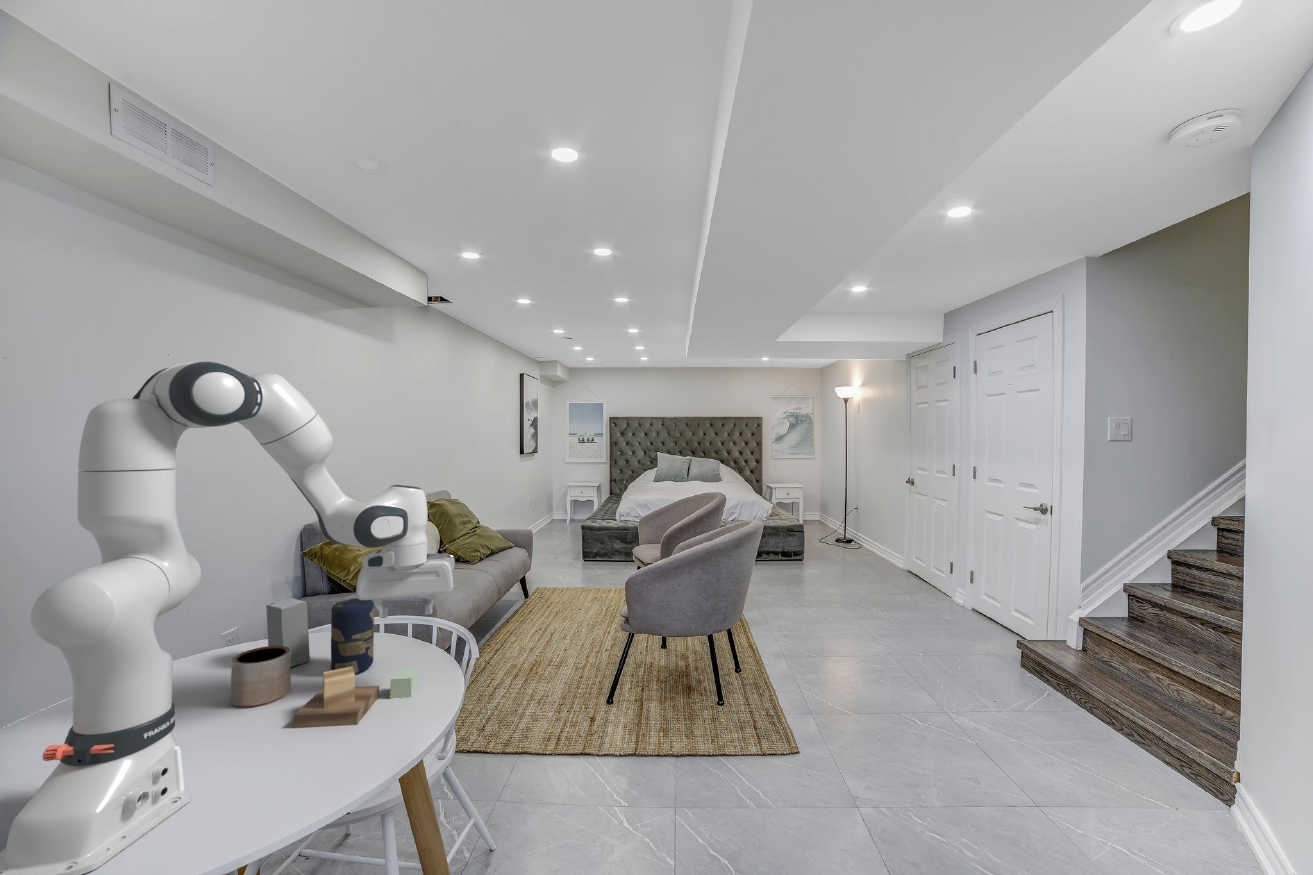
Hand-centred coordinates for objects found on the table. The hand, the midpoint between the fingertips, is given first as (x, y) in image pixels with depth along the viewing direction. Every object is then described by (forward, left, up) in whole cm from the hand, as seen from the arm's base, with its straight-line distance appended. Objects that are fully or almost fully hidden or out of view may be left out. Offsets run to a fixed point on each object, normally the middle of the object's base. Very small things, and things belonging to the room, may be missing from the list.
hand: (406, 615), depth 123 cm
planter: (+2, +31, -18) cm, 36 cm away
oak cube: (-7, +11, -15) cm, 20 cm away
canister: (+15, +17, -18) cm, 29 cm away
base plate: (-7, +11, -18) cm, 22 cm away
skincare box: (+21, +35, -18) cm, 45 cm away
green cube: (0, 0, -18) cm, 18 cm away
